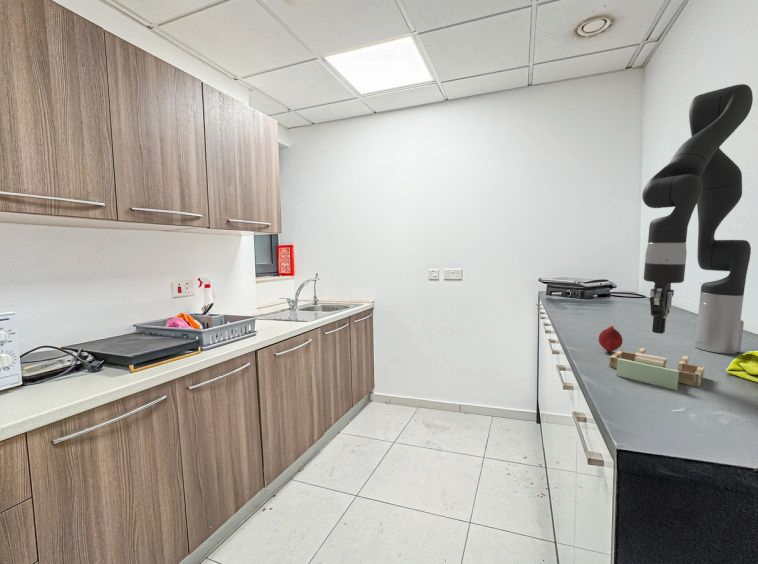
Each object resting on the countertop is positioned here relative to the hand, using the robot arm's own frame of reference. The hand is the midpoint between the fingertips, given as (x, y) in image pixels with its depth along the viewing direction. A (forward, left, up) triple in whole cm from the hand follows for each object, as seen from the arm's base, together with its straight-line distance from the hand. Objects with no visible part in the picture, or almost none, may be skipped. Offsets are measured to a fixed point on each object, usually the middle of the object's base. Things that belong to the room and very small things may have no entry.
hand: (658, 332), depth 84 cm
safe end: (+8, +7, -10) cm, 15 cm away
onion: (+1, -15, -10) cm, 18 cm away
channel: (-1, 0, -10) cm, 10 cm away
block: (+5, +5, -10) cm, 12 cm away
